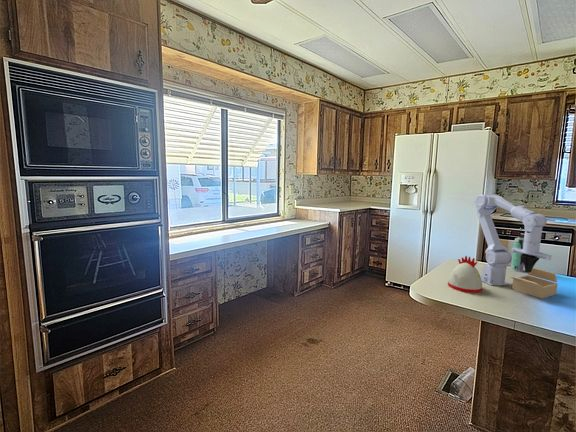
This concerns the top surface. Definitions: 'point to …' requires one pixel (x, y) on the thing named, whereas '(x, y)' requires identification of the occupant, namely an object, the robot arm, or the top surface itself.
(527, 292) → the carton
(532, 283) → the near flap
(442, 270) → the top surface
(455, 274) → the kitchen timer
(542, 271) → the far flap
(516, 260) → the spray can
